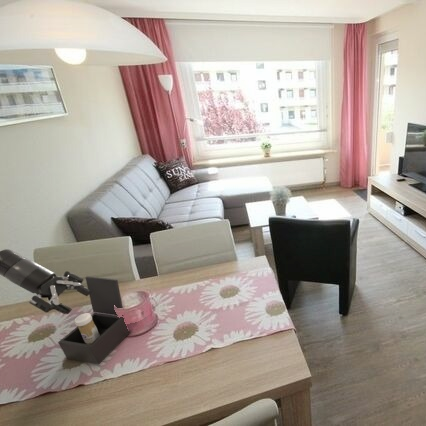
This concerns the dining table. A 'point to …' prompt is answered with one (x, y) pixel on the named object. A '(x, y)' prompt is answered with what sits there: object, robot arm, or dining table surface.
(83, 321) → the sprinkles bottle
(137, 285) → the dining table surface
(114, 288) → the box lid
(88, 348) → the dark open box
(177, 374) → the dining table surface
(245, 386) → the dining table surface
